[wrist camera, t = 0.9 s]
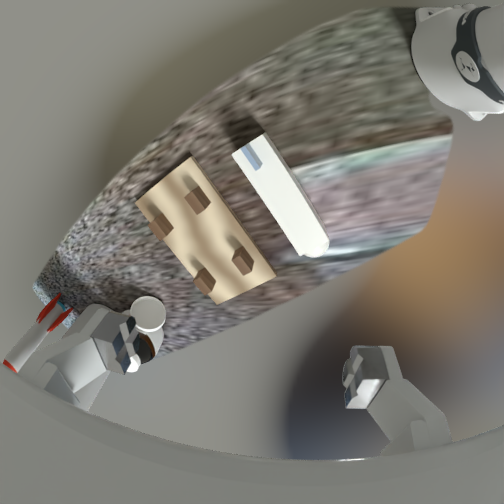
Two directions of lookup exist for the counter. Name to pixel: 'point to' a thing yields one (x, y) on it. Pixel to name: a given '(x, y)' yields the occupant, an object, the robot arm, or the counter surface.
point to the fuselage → (283, 196)
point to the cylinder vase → (93, 387)
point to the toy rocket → (36, 334)
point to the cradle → (204, 233)
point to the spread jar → (147, 328)
